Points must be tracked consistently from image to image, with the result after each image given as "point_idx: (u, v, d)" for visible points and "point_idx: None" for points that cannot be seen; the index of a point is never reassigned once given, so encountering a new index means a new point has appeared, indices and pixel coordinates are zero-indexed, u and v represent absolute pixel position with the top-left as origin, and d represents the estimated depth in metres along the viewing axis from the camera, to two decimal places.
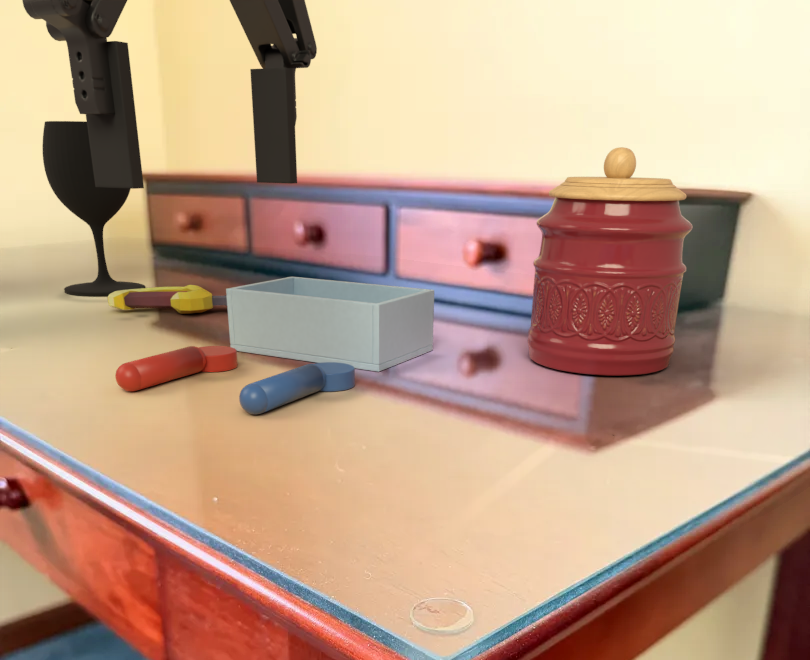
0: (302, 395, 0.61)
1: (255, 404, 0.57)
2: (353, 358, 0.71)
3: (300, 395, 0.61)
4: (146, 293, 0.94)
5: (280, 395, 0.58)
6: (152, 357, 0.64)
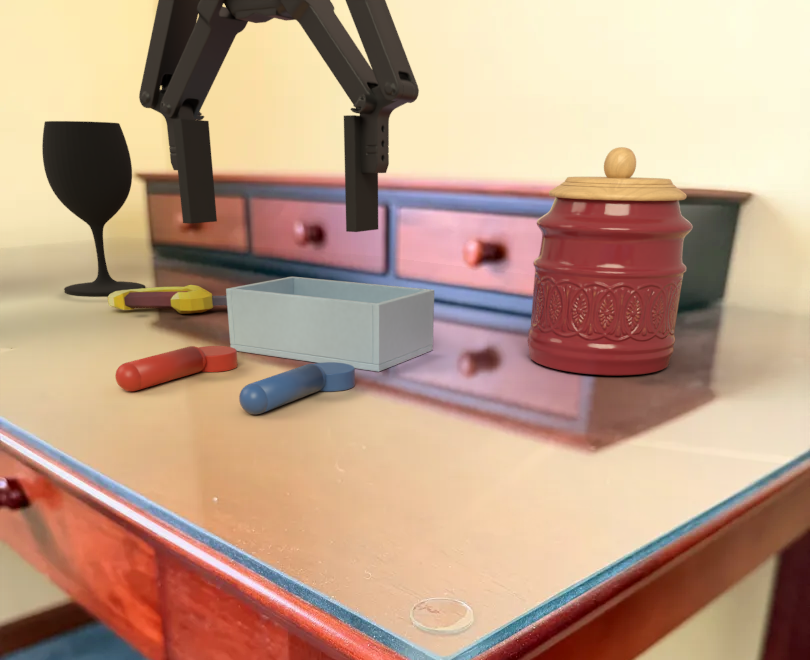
0: (302, 395, 0.61)
1: (255, 404, 0.57)
2: (353, 358, 0.71)
3: (300, 395, 0.61)
4: (146, 293, 0.94)
5: (280, 395, 0.58)
6: (152, 357, 0.64)
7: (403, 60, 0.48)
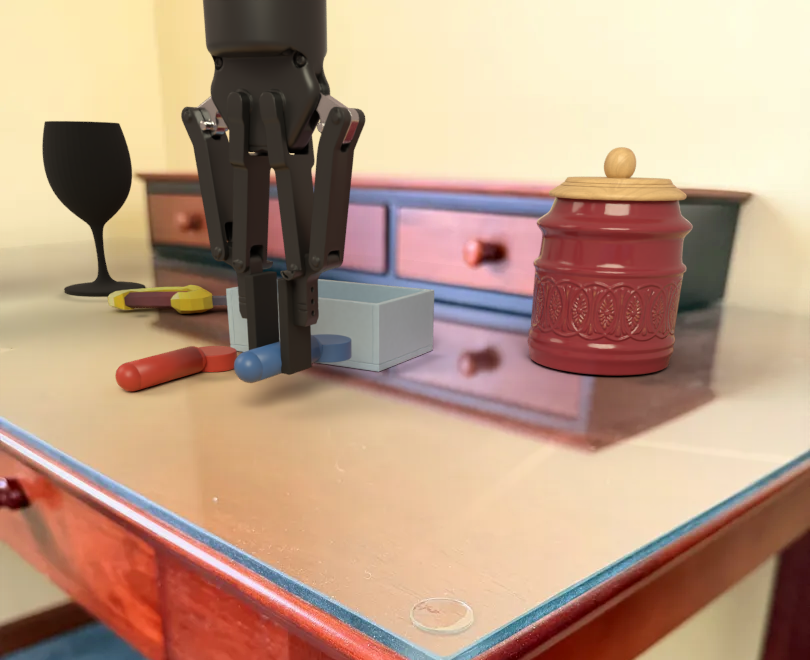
0: None
1: (250, 372, 0.56)
2: (353, 358, 0.71)
3: None
4: (146, 293, 0.94)
5: (276, 364, 0.58)
6: (152, 357, 0.64)
7: (341, 238, 0.55)
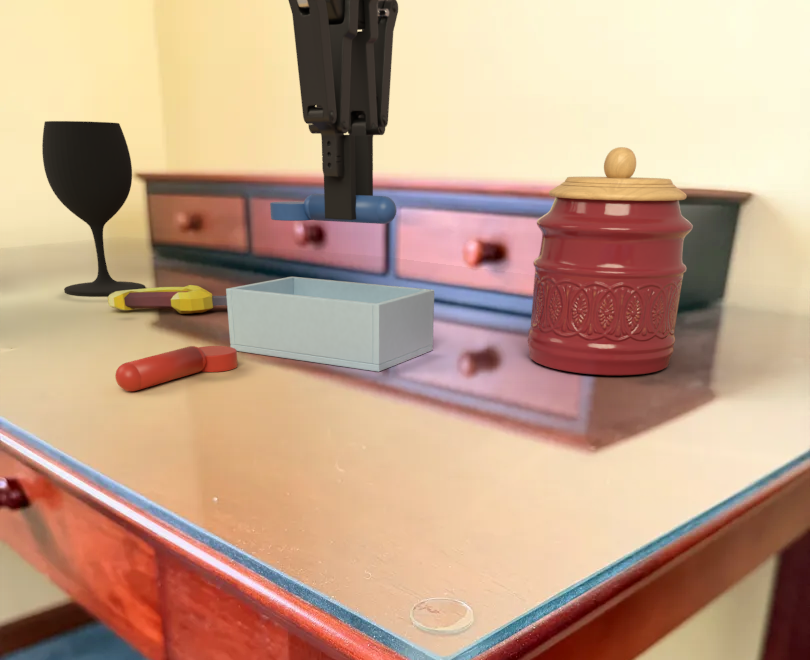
0: None
1: None
2: (353, 358, 0.71)
3: None
4: (146, 293, 0.94)
5: None
6: (152, 357, 0.64)
7: None
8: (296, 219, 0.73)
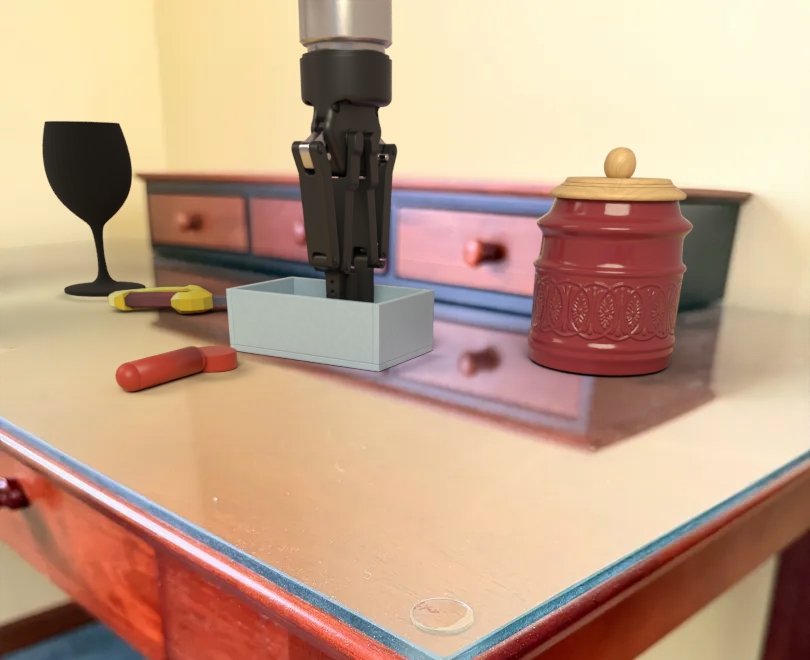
0: None
1: None
2: (353, 358, 0.71)
3: None
4: (146, 293, 0.94)
5: None
6: (152, 357, 0.64)
7: None
8: None
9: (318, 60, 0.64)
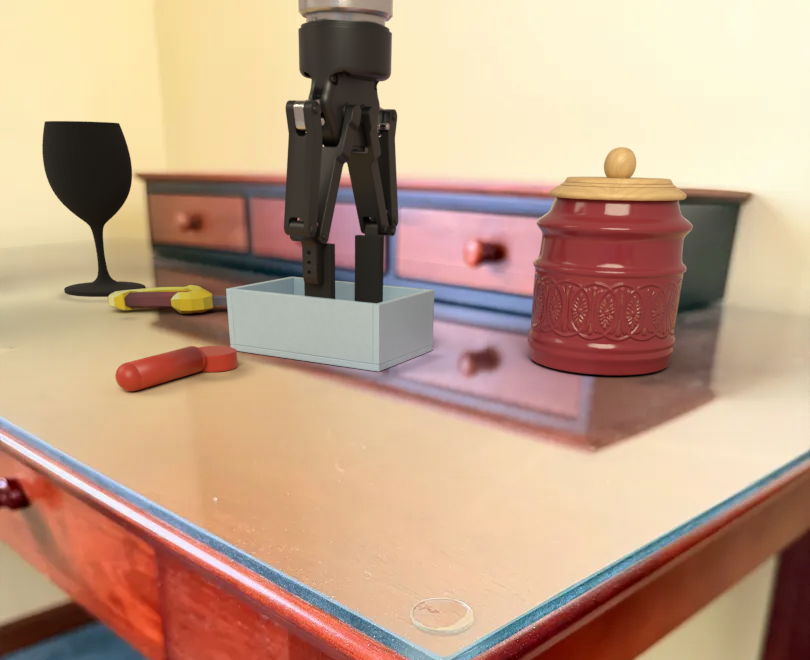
0: None
1: None
2: (353, 358, 0.71)
3: None
4: (146, 293, 0.94)
5: None
6: (152, 357, 0.64)
7: None
8: None
9: (317, 30, 0.63)
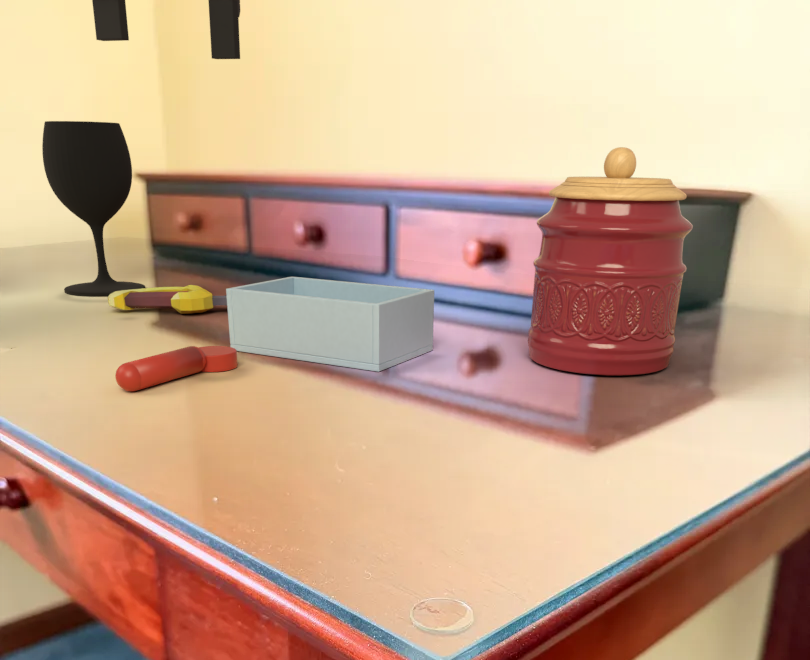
0: None
1: None
2: (353, 358, 0.71)
3: None
4: (146, 293, 0.94)
5: None
6: (152, 357, 0.64)
7: None
8: None
9: None
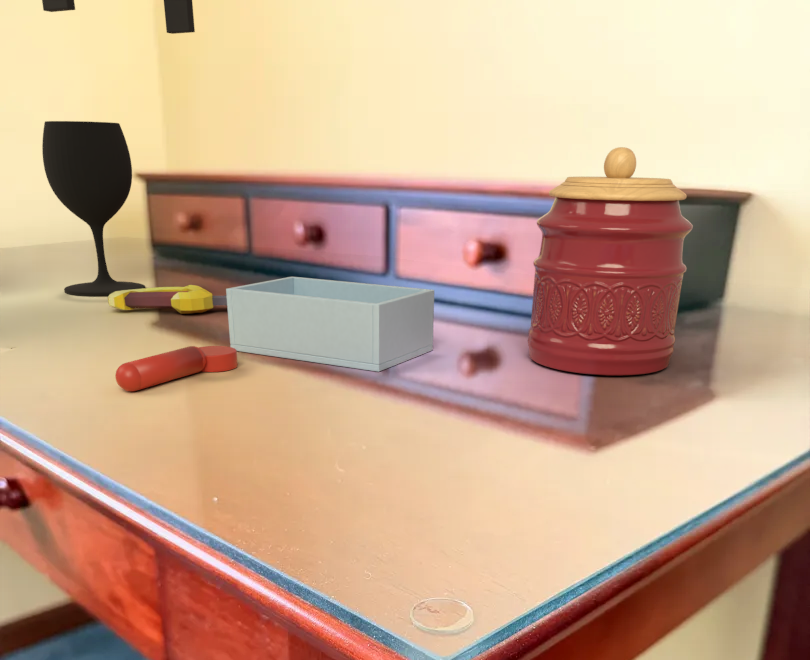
0: None
1: None
2: (353, 358, 0.71)
3: None
4: (146, 293, 0.94)
5: None
6: (152, 357, 0.64)
7: None
8: None
9: None
